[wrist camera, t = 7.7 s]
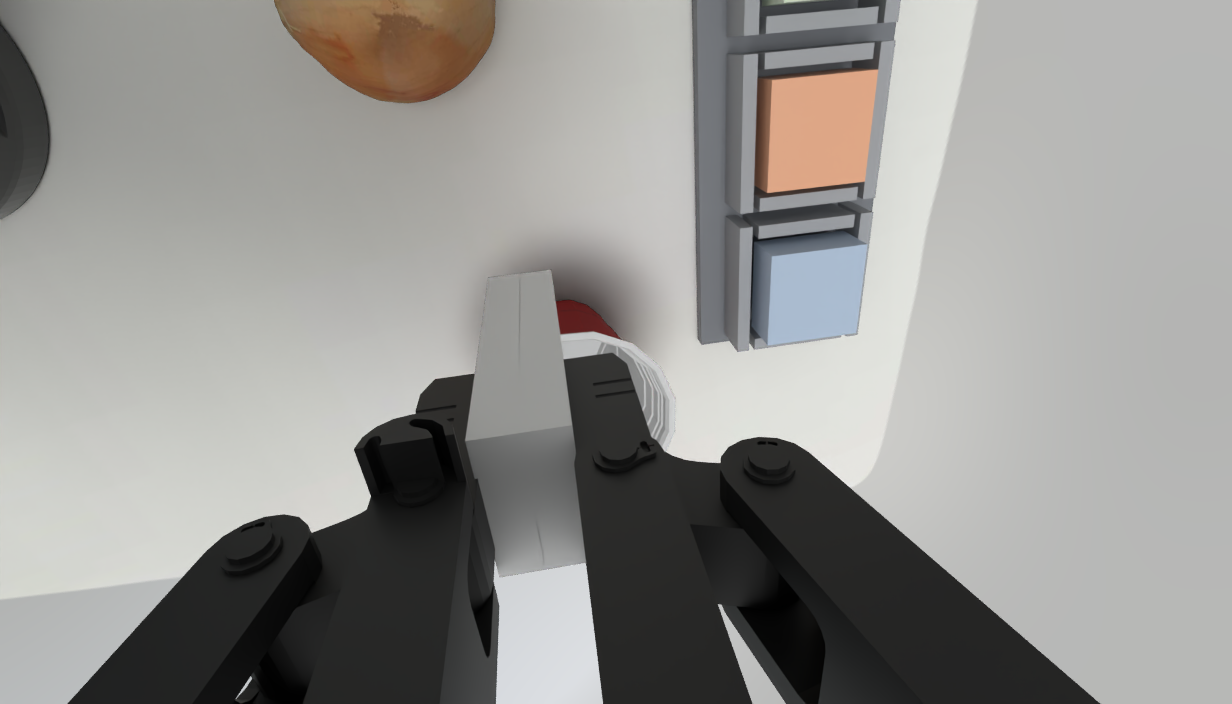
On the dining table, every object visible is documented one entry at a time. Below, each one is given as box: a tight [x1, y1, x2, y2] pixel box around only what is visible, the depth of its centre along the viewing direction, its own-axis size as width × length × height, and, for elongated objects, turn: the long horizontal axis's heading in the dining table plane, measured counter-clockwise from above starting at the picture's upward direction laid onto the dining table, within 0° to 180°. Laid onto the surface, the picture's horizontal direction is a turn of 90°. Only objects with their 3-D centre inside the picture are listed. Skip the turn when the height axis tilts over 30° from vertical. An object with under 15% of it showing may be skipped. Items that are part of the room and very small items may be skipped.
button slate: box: [751, 231, 868, 346], centre depth 38 cm, size 6×6×3 cm
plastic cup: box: [556, 300, 676, 452], centre depth 36 cm, size 11×11×12 cm
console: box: [692, 0, 901, 352], centre depth 33 cm, size 38×12×4 cm, turn 5°
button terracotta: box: [754, 68, 878, 193], centre depth 34 cm, size 6×6×3 cm
